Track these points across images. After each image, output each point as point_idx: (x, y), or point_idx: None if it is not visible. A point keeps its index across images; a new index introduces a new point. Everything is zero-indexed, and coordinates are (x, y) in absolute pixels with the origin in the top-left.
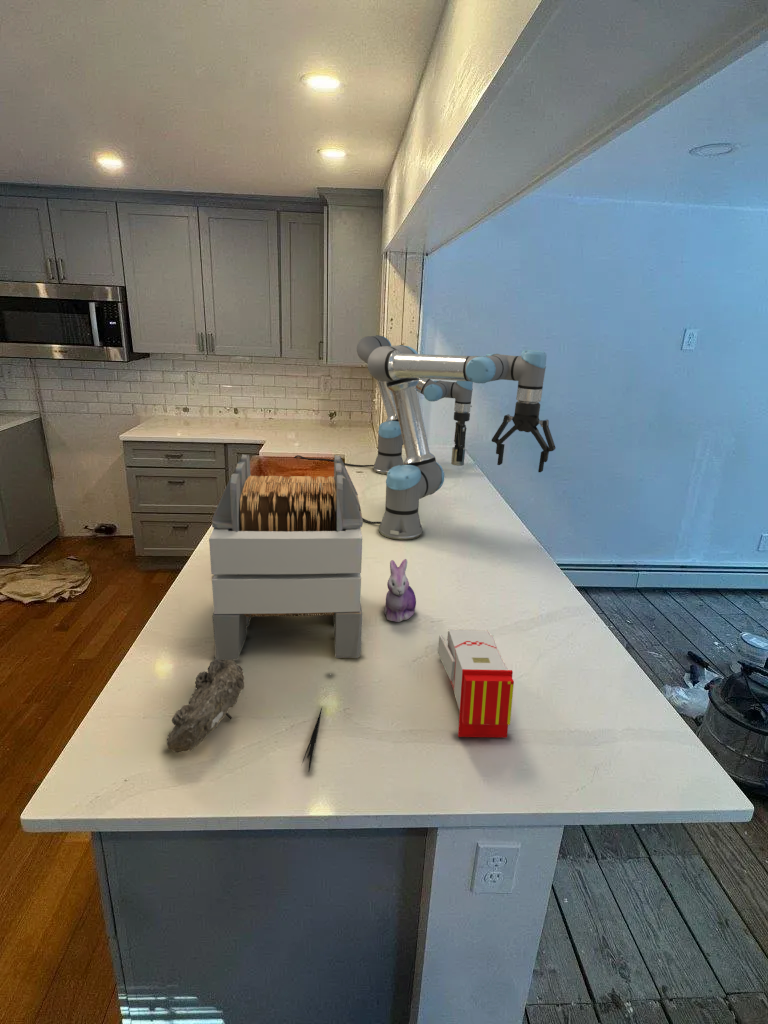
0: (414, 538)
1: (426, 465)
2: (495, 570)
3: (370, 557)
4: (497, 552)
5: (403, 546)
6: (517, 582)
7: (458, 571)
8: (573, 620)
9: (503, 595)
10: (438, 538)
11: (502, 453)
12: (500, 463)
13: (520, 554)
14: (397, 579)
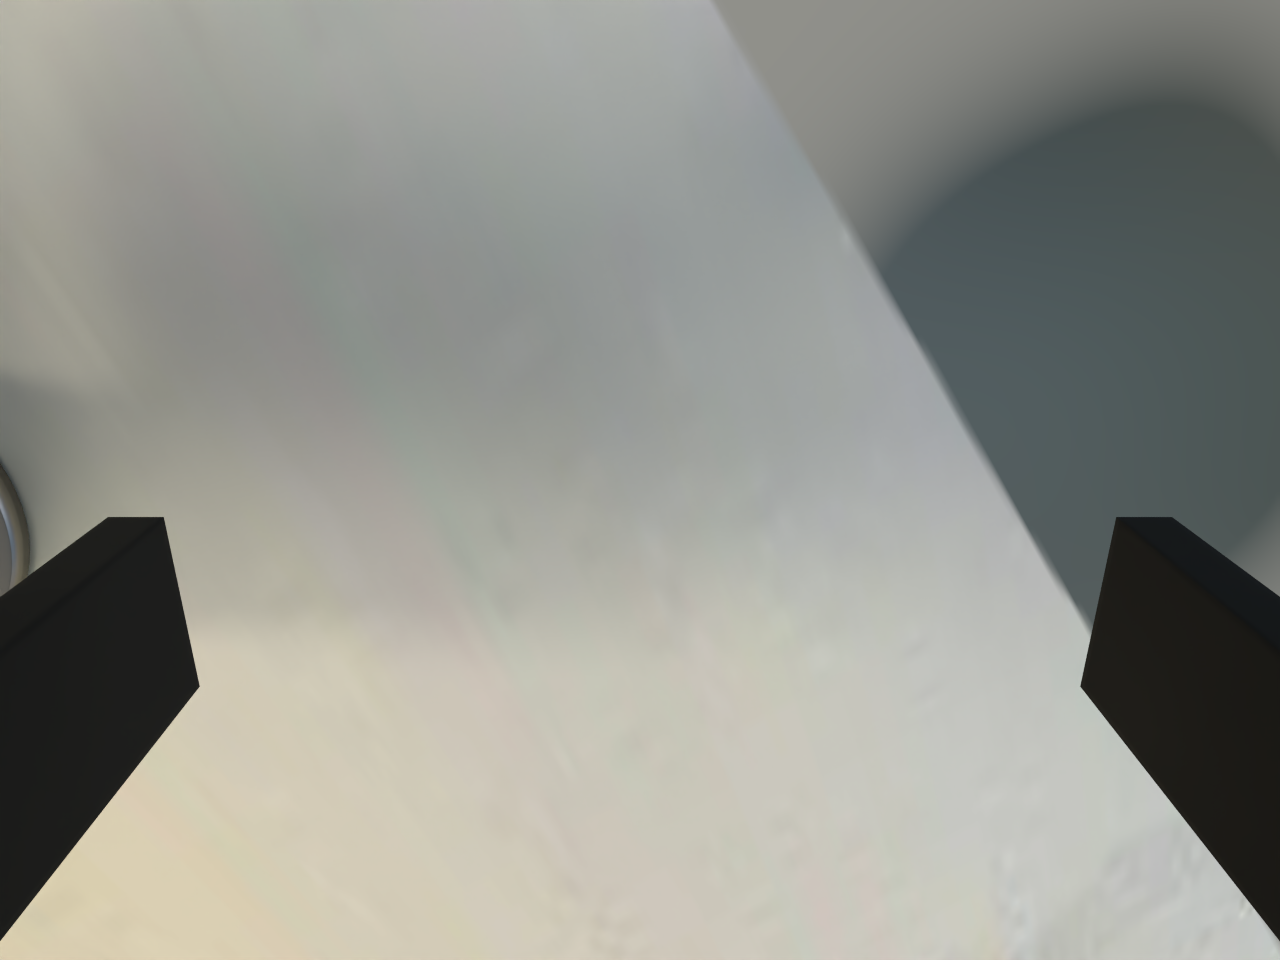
0: (26, 569)
1: None
2: (689, 687)
3: (49, 903)
4: (600, 434)
5: None
6: (845, 751)
7: (518, 803)
8: (1159, 931)
9: (818, 899)
10: (138, 451)
11: (7, 751)
12: (174, 651)
13: (753, 369)
14: None
